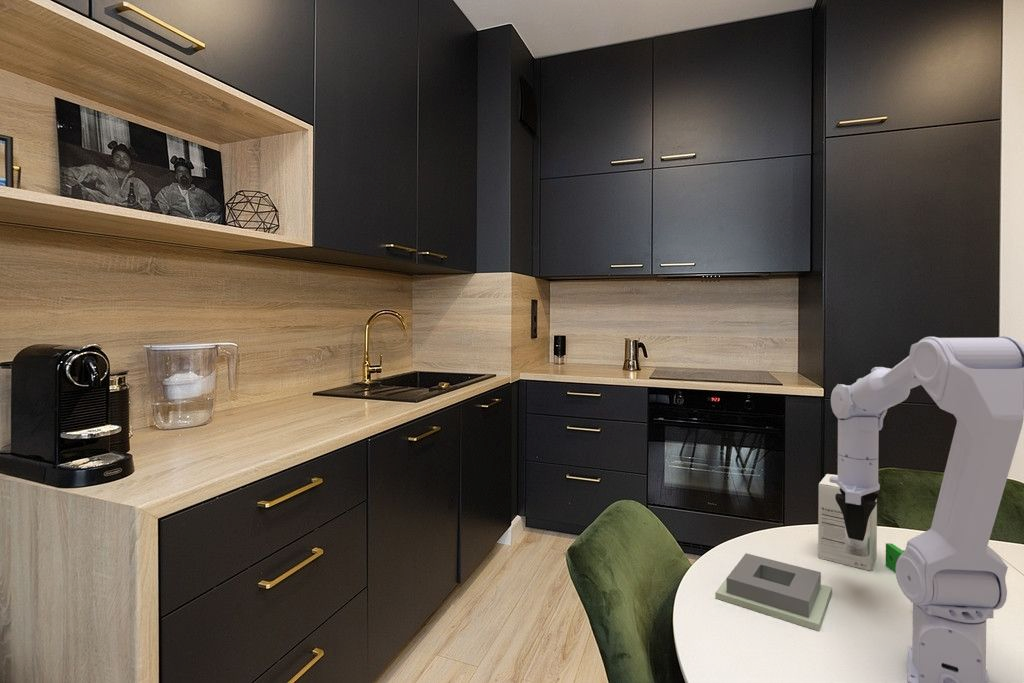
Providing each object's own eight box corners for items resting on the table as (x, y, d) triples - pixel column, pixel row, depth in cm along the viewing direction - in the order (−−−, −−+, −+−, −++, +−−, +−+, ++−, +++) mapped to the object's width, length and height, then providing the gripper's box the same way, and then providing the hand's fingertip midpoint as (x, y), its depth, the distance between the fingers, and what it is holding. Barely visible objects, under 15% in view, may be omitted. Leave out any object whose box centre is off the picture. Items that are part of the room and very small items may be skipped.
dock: (819, 631, 75) (819, 607, 75) (715, 598, 85) (715, 577, 85) (831, 592, 86) (832, 572, 86) (738, 567, 96) (738, 549, 96)
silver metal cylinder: (868, 558, 84) (869, 510, 84) (843, 552, 86) (843, 506, 86) (870, 551, 86) (870, 504, 86) (845, 546, 89) (846, 500, 88)
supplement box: (825, 543, 106) (825, 472, 106) (877, 555, 100) (878, 480, 100) (816, 558, 99) (817, 482, 99) (872, 572, 94) (873, 492, 93)
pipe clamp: (950, 599, 85) (950, 572, 84) (925, 597, 85) (926, 571, 85) (906, 567, 96) (907, 543, 96) (885, 566, 96) (885, 542, 96)
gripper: (835, 444, 94) (835, 517, 94) (823, 460, 83) (823, 542, 83) (882, 450, 90) (881, 526, 90) (876, 467, 78) (876, 554, 79)
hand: (857, 535), depth 86 cm, fingers closed on silver metal cylinder, 3 cm apart
